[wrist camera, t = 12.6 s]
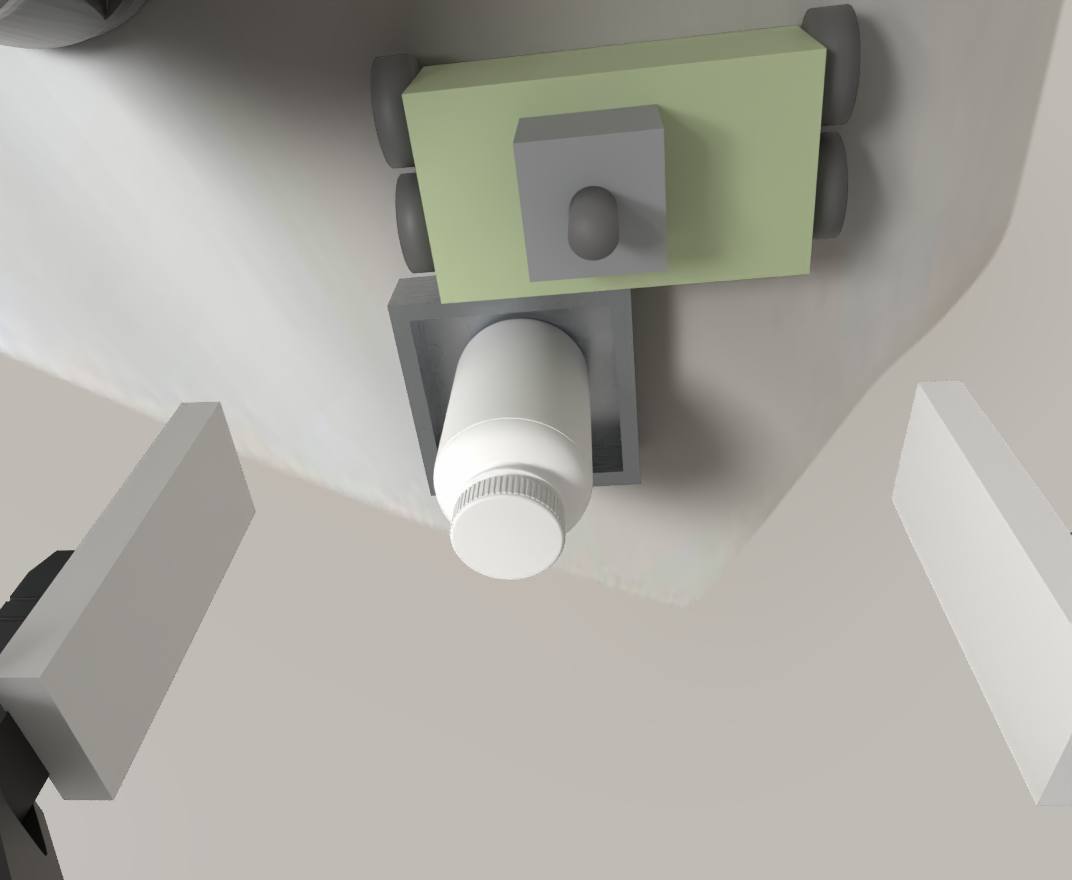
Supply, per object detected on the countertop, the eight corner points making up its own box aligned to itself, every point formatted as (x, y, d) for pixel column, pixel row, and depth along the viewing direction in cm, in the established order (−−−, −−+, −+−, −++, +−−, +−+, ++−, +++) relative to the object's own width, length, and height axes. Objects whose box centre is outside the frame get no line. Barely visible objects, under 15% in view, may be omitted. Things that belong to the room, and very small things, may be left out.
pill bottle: (566, 443, 53) (560, 618, 41) (444, 407, 52) (400, 576, 40) (610, 337, 49) (619, 497, 37) (478, 296, 48) (440, 447, 36)
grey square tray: (439, 462, 55) (430, 495, 53) (399, 279, 48) (387, 305, 45) (638, 450, 54) (640, 483, 51) (627, 259, 47) (630, 286, 44)
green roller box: (427, 259, 47) (379, 376, 37) (385, 48, 41) (314, 114, 31) (817, 226, 45) (889, 339, 34) (836, -4, 39) (929, 49, 28)
